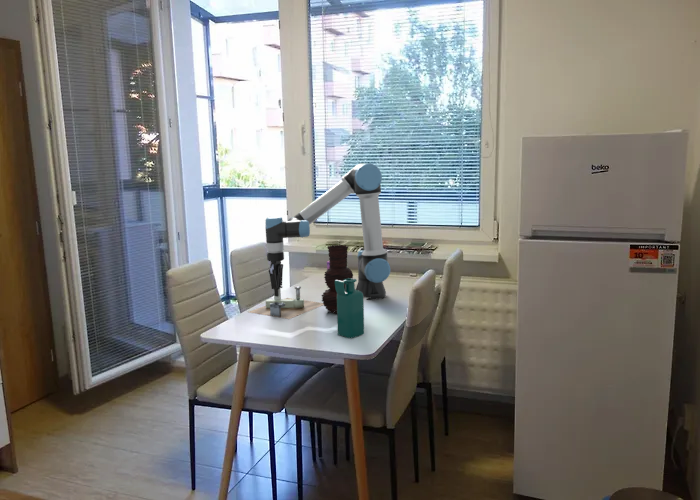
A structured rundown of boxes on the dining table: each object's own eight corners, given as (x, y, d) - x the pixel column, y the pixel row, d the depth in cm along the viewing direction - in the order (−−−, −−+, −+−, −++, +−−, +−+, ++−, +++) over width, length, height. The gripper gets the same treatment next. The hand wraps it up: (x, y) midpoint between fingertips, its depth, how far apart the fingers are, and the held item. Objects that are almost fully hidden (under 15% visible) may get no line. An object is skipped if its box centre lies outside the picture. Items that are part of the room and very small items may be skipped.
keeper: (285, 314, 239) (285, 303, 238) (279, 316, 236) (279, 305, 235) (276, 313, 242) (275, 301, 241) (270, 315, 238) (269, 304, 238)
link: (304, 305, 253) (304, 298, 253) (303, 308, 248) (303, 301, 248) (267, 305, 254) (267, 299, 254) (265, 308, 249) (265, 301, 249)
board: (327, 306, 256) (327, 303, 256) (289, 322, 233) (289, 319, 233) (287, 300, 268) (287, 297, 268) (247, 315, 245) (247, 312, 245)
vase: (314, 315, 242) (312, 247, 237) (337, 307, 254) (336, 242, 249) (341, 321, 232) (339, 250, 228) (364, 313, 244) (363, 245, 239)
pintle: (302, 299, 251) (302, 286, 250) (298, 300, 248) (298, 287, 248) (297, 298, 252) (297, 285, 251) (293, 299, 250) (293, 287, 249)
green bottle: (351, 329, 221) (350, 275, 218) (366, 334, 215) (365, 278, 211) (332, 335, 215) (331, 279, 211) (347, 340, 208) (346, 282, 205)
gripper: (272, 248, 256) (274, 298, 261) (262, 254, 244) (264, 306, 248) (287, 249, 255) (290, 299, 259) (278, 254, 242) (280, 306, 247)
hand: (277, 302), depth 254 cm, fingers closed
